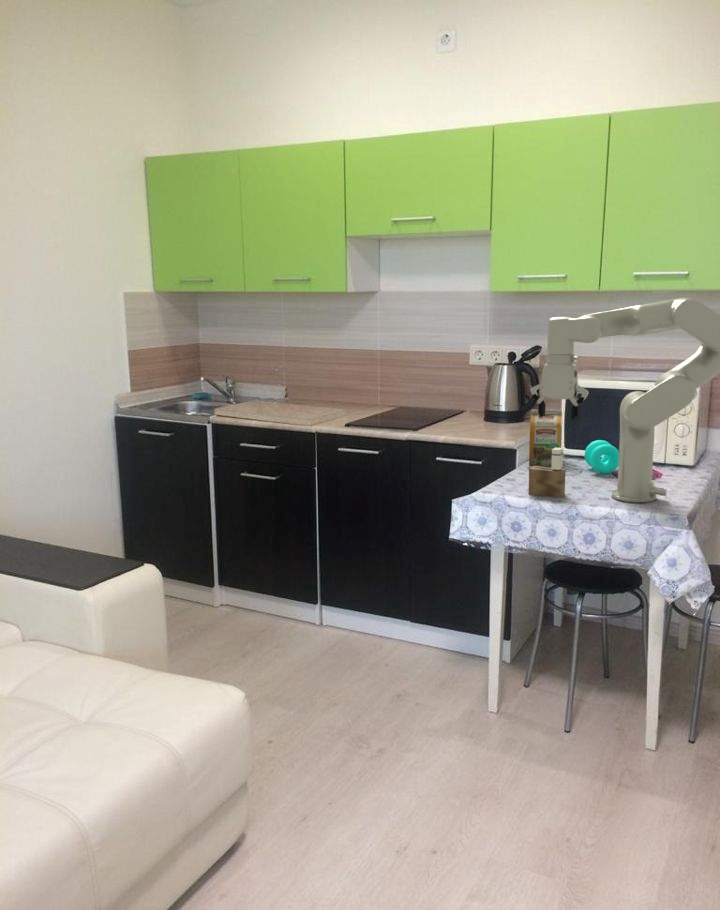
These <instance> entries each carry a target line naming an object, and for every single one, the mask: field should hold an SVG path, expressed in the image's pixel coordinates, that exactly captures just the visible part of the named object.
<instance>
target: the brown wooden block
mask: <svg viewBox="0 0 720 910" xmlns="http://www.w3.org/2000/svg"><path fill="white" fill-rule="evenodd" d="M533 494H537V495H536V496H541V495H544V496H543V497H549V496H550V498H559V499H561V498H563V497H564V496H565V495H566V468H561V469H560V470H556V469H551V467H550V466H530V468H528V495H533Z"/></svg>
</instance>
